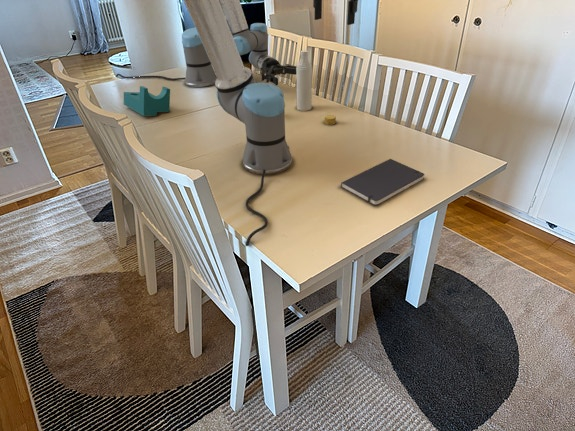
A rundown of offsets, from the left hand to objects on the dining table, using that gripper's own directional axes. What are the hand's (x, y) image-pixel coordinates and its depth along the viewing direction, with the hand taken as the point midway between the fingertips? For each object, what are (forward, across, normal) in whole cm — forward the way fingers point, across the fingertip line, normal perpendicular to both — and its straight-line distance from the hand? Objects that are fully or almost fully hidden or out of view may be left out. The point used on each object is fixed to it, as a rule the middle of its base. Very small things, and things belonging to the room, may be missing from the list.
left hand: (292, 79), depth 166 cm
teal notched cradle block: (-22, +55, -10) cm, 60 cm away
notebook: (+73, +10, -7) cm, 74 cm away
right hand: (+28, 0, +26) cm, 38 cm away
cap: (+28, -1, -6) cm, 29 cm away
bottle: (+10, 0, -9) cm, 13 cm away
